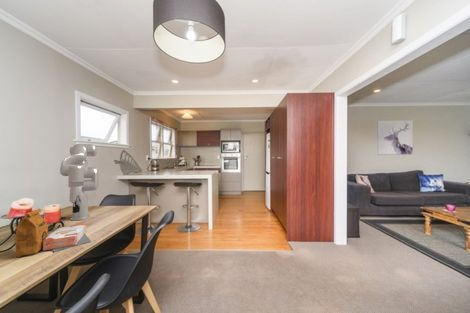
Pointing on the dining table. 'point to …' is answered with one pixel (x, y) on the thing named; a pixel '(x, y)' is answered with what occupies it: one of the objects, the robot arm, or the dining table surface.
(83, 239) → the mat
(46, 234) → the coffee package
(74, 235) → the cracker box
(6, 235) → the dining table surface
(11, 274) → the dining table surface
